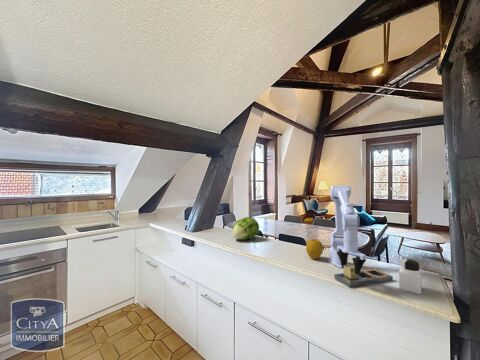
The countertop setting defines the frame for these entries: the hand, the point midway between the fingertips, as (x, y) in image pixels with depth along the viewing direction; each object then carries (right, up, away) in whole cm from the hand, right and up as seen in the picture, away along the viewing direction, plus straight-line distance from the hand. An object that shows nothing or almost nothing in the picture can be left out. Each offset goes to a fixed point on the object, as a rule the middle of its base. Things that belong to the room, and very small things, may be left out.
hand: (350, 270), depth 95 cm
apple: (-6, -6, +30) cm, 31 cm away
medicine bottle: (+23, -6, -6) cm, 24 cm away
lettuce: (-46, -7, +72) cm, 86 cm away
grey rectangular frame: (+7, -5, +2) cm, 9 cm away
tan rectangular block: (0, -5, 0) cm, 5 cm away
